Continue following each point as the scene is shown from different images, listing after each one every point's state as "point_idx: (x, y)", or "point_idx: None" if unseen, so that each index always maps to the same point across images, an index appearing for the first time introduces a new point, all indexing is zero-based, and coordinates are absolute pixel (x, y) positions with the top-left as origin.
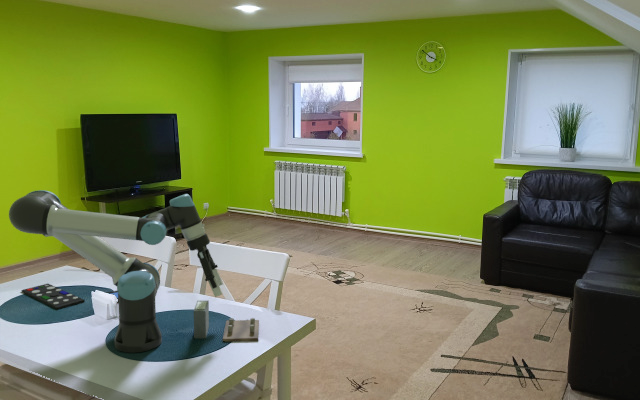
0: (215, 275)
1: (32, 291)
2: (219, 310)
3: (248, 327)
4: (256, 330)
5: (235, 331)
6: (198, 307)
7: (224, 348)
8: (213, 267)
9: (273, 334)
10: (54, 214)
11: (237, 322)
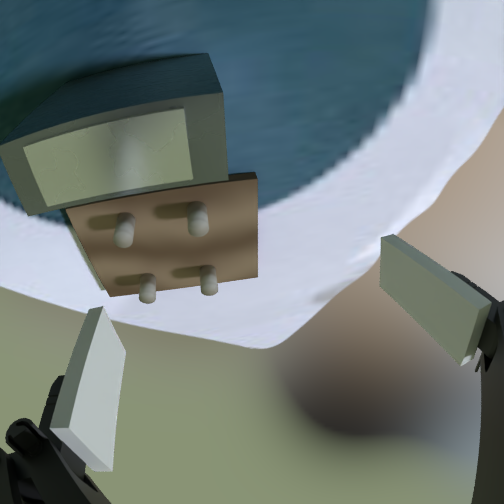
0: (433, 310)
1: None
2: (398, 129)
3: (186, 263)
4: (165, 285)
5: (141, 233)
6: (52, 158)
7: (25, 221)
8: (489, 353)
9: (166, 311)
10: None
11: (234, 222)
